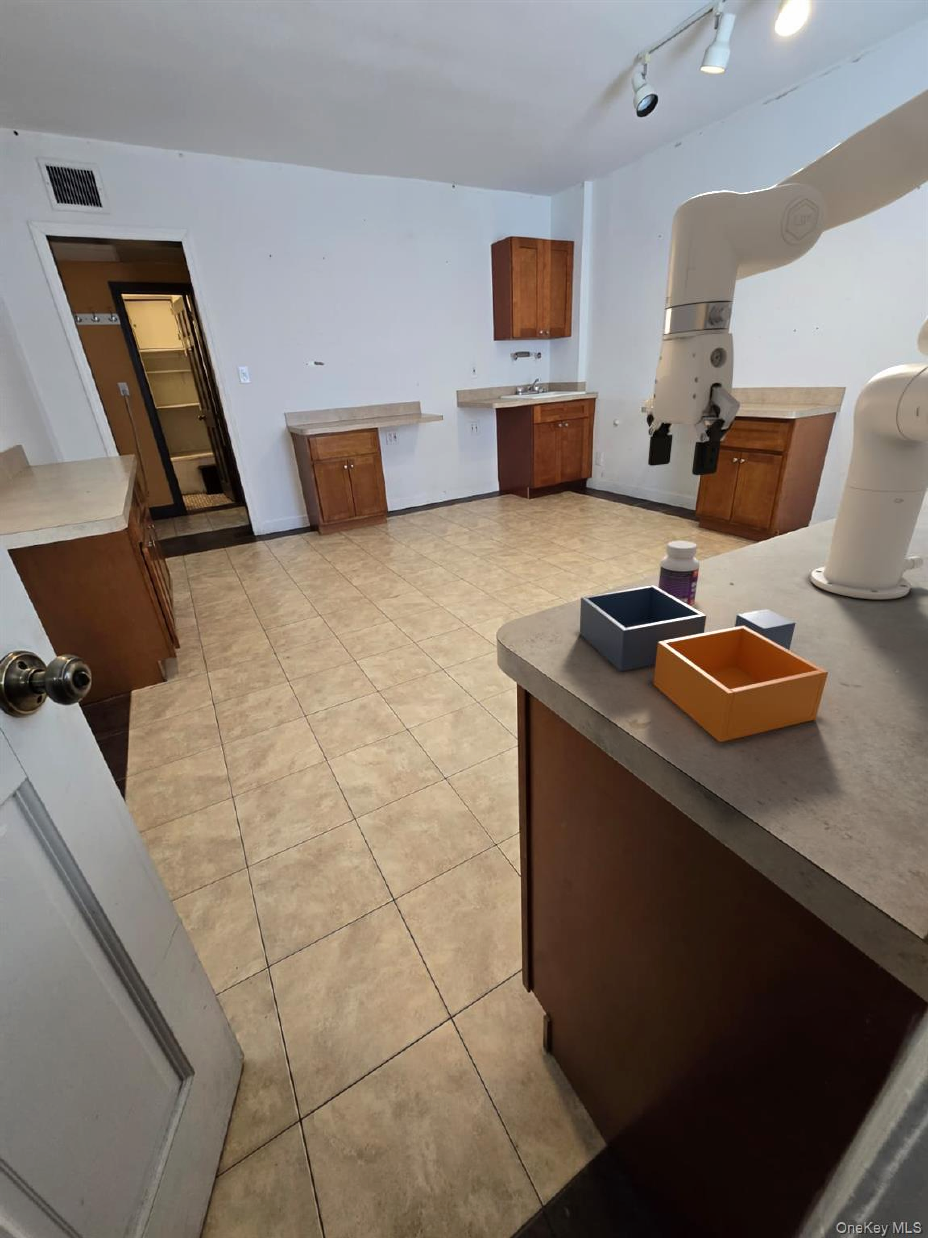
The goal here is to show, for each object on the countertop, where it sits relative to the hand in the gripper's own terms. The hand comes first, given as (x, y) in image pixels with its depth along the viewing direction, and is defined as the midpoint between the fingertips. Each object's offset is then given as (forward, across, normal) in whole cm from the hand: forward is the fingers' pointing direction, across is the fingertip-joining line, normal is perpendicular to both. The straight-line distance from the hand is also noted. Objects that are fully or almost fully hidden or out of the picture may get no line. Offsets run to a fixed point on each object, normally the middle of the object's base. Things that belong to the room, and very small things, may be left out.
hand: (680, 468), depth 69 cm
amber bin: (+21, -24, +8) cm, 32 cm away
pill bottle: (+21, 0, -2) cm, 21 cm away
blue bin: (+21, -8, +10) cm, 25 cm away
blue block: (+21, -16, -3) cm, 26 cm away
